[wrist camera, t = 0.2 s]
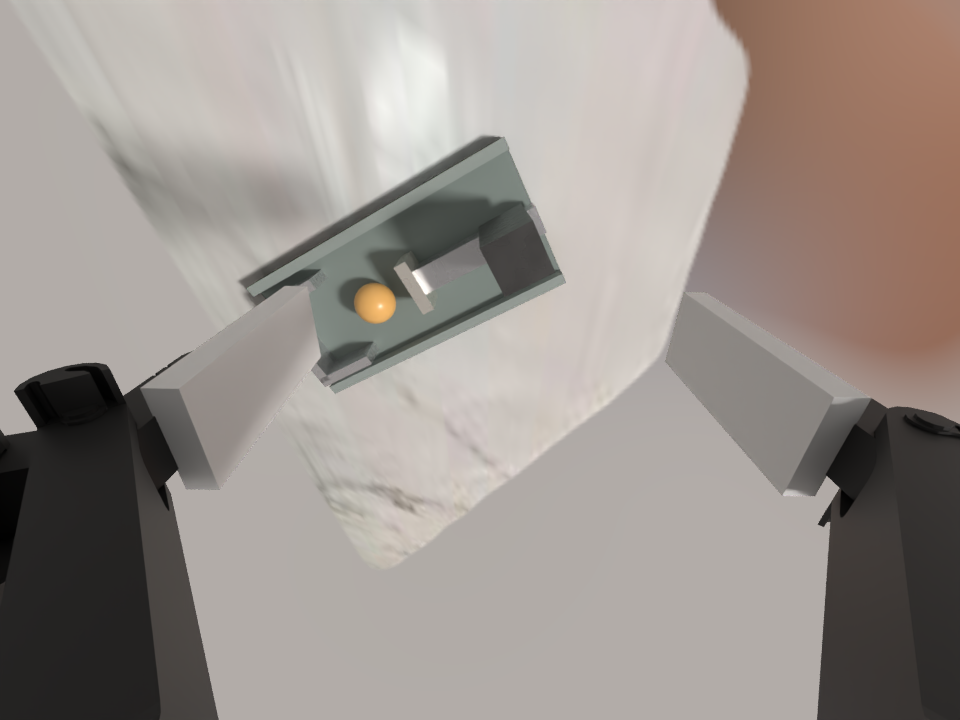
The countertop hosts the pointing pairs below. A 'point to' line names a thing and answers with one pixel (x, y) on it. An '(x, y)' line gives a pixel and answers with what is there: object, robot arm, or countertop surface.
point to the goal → (327, 365)
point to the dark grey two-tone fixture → (483, 257)
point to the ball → (375, 303)
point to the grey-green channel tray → (425, 231)
